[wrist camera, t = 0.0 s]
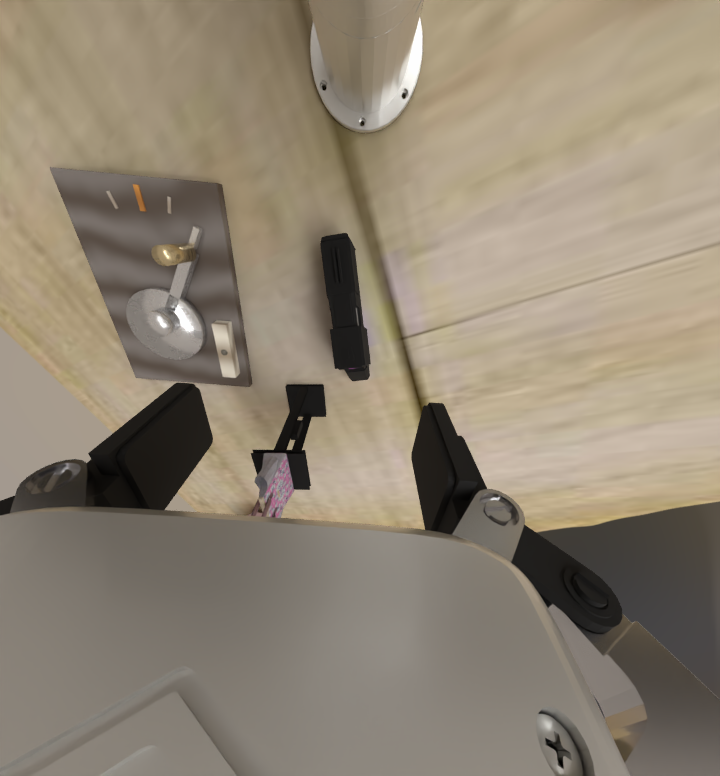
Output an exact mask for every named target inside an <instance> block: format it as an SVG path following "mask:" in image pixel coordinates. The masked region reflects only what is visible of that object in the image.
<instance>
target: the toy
mask: <svg viewBox="0 0 720 776" xmlns="http://www.w3.org/2000/svg"><path fill="white" fill-rule="evenodd" d="M320 245H321V253H322V260H323V268H324V276H325V284H326V292H327V297H328V299H329V306H330V311H331V316H332V324H333V329H331V330H330V334H331V341H332V349H333V357H334V365H335V369H337V368H338V369H339V370H341V369H345V371H346V373H347V375H348V376H349V378H350V379H351V380H352V381H359V380H368V378H369V376H370V373H369V364H371V363H370V354H369V345H368V337H367V329H366V328H364V326H363V317H362V309H361V300H360V291H359V283H358V274H357V266H356V257H355V250H356V249H355V248H354V246H353V244H352V242H351V240H350V238H349V237H348V234H347V233H342V234H336V235H330V236H324V237H322V239H321V243H320Z"/></svg>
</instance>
